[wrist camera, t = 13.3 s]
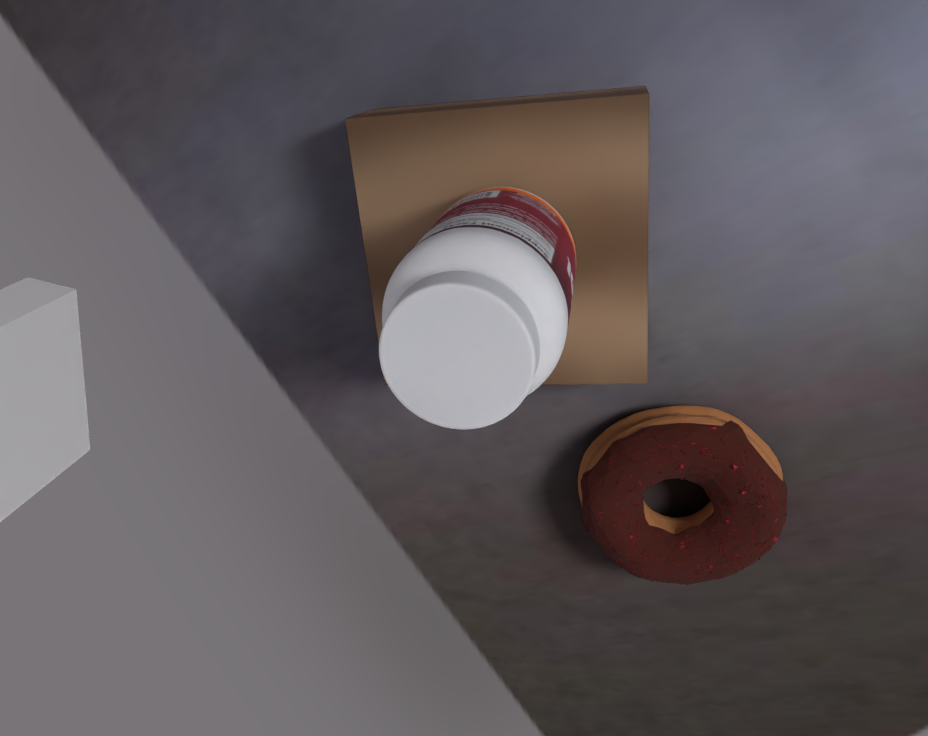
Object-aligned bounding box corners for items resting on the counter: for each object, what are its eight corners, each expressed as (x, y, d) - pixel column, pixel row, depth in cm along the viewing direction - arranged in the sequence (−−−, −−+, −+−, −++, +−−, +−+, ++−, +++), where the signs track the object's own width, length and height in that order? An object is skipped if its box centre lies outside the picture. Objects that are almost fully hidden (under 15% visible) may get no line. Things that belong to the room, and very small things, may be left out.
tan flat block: (373, 109, 34) (345, 118, 30) (645, 86, 31) (649, 93, 28) (406, 352, 39) (385, 385, 35) (644, 348, 36) (647, 383, 33)
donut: (572, 542, 42) (568, 590, 38) (585, 385, 38) (582, 422, 34) (760, 564, 40) (774, 616, 37) (795, 403, 36) (815, 444, 33)
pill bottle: (537, 348, 33) (503, 487, 23) (411, 286, 33) (323, 399, 23) (605, 224, 30) (601, 321, 20) (468, 155, 30) (396, 219, 20)
